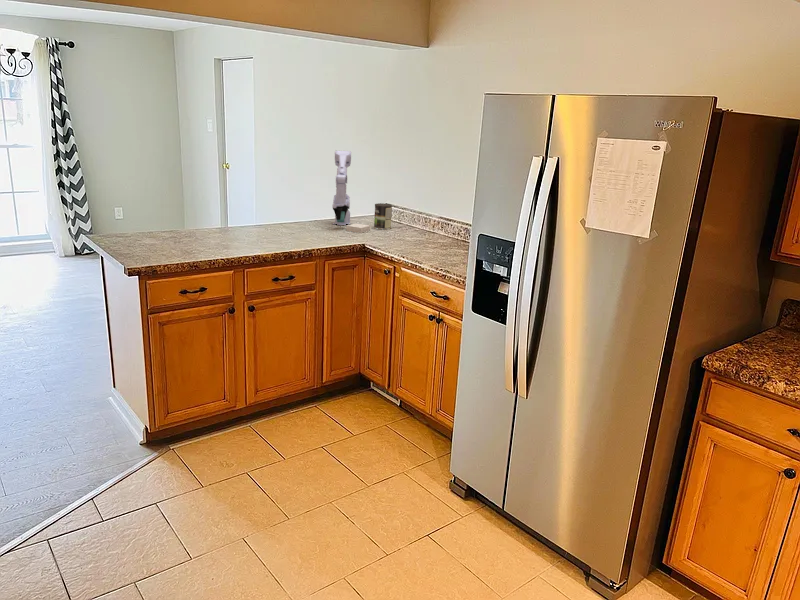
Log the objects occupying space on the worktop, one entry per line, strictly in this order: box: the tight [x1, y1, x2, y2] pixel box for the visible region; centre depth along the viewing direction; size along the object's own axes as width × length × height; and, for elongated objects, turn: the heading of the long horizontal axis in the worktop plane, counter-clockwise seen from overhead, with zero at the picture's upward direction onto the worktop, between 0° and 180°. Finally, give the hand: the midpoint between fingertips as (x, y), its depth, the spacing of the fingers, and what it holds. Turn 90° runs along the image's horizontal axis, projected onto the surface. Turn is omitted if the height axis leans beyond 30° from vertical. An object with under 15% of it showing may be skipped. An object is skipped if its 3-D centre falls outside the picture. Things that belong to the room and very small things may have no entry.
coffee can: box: [373, 202, 393, 230], centre depth 363 cm, size 10×10×14 cm
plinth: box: [345, 223, 371, 234], centre depth 352 cm, size 10×10×3 cm
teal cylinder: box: [337, 211, 345, 222], centre depth 354 cm, size 4×4×6 cm
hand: (340, 219), depth 354 cm, fingers closed on teal cylinder, 4 cm apart
